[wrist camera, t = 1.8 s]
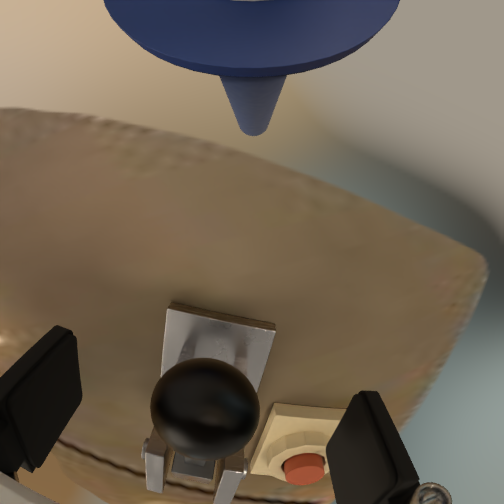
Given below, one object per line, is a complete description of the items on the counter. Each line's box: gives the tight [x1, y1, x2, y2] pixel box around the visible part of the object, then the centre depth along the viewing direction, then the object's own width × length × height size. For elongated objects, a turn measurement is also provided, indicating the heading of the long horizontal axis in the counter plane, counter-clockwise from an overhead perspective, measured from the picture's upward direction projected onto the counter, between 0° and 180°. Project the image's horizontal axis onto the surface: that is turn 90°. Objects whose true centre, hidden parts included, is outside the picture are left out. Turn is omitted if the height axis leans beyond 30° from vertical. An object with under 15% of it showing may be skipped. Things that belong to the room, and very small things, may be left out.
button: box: [284, 453, 325, 485], centre depth 23 cm, size 4×4×2 cm
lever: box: [150, 358, 260, 484], centre depth 11 cm, size 13×3×3 cm, turn 167°
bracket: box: [141, 302, 276, 504], centre depth 19 cm, size 10×8×12 cm
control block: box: [250, 403, 346, 481], centre depth 25 cm, size 10×8×4 cm
